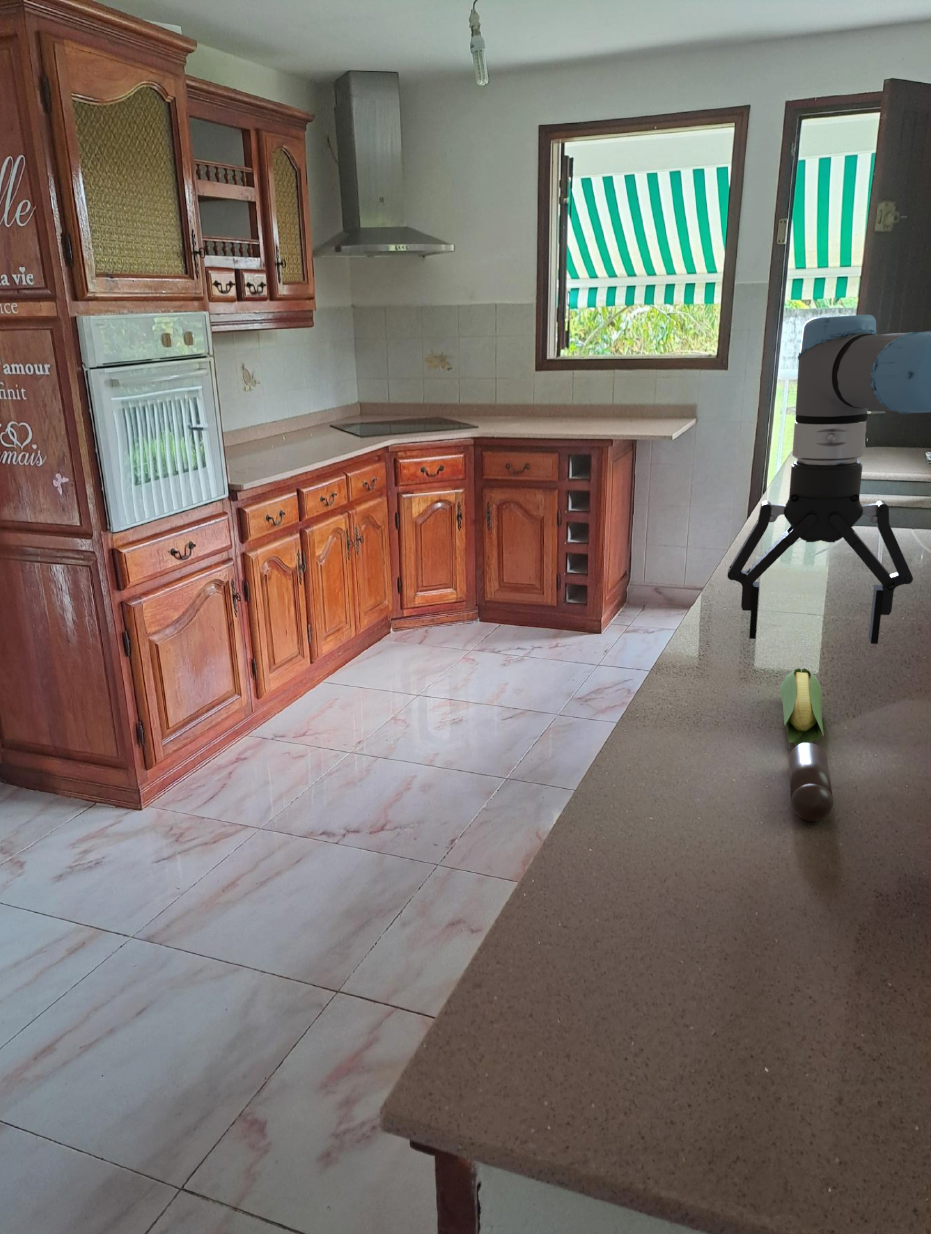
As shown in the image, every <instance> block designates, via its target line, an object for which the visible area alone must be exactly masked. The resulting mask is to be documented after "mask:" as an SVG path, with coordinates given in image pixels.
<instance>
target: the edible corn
mask: <svg viewBox="0 0 931 1234" xmlns="http://www.w3.org/2000/svg"><path fill="white" fill-rule="evenodd" d="M779 689H780V696H781V701H782V711H783V712H782V713H783V723H784V725H783V726H784V729H786V730H787V739H788V740H787V741H788V743H793V745H794V746H795V747H796V746H797V745H799V744H802V743H813V741H817V742H819V739H820V735H822V736H823V737H824V736H825V734H824V733H825V732H824V725H823V689H822V685H821V684H820V682H819V680H818V678H817V677H816V676H815V675H814V674H813V673H812V672H811V671H810V670H809V669H807V668H799V667H798V668H796V669H795V670H793V671H791V672H790V673H789V674H788V675H786V676H785V678H784V679H783V681H782V682H781V683H780V685H779ZM795 747H794V748H795Z"/></svg>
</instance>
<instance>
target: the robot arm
mask: <svg viewBox="0 0 931 1234" xmlns="http://www.w3.org/2000/svg"><path fill="white" fill-rule="evenodd" d="M800 341H801V342H800V351H799V352H798V355H797V360H798V367H797V380H796V381H797V383H796V396H795V397H796V401H795V420H794V425H793V427H794V428H793V441H792V457H794V458H795V459H796V461H794V462H793V464H791V468H790V479H789V481H790V482H789V483H790V484H789V491H788V492H789V493H788V499H787V501H786V503H785V504H781V503H772V502H770V501H769V500H763V501H762V502H761V503H760V508H759V512H758V513H759V514H758V518H757V520H756V522H755V524H754V525H753V527H752V529H751V530H750V532H749V533H748V534H747V535H748V536H747V537H746V538H745V540H744V542H743V544H742V545H741V547H740V549H739V550H738V552H737V553H736V555H735V557H734V559H733V561H732V562H731V564H730V565H729V567H728V570H727V578H728V580H730V581H735V582H737V583H739V584H740V585H741V605H740V607H741V610H742V611H745V612H746V611H747V612H748V611H749V612H750V616H749V617H750V618H749V631H748V632H749V634H748V639H750V640H756V639H757V627H758V611H759V597H760V596H759V595H760V581H757V580H758V579H759V578H760V577H761V576H762V575H763V574H764V573H765V572H766V571H767V570H768V569H769V568H770V567H771V566H772V565H773V564H774V563H775V562H776V561H777V560H778V559H780V557H781V556H782V555H783V554H784V553H785V552H786V551H787V550H788V549H789V548H790V547H792V545H794V544H795V543H796V542H797V541H799V539H801V540H802V541H805V542H806V543H816V542H820V541H821V542H824V543H836V542H838V541H840V540H842V539H843V540H844V541H845V542H846V543H847V545H848V546H849V547H851V549H852V550H853V552H854V553H856V554H857V556H858V557H859V558H860V560H861V561H862V562H863V563H864V565H865V566H866V567H867V568H868V569H869V571H870V572H871V573H872V574H873V575H874V577H875V578H876V579H877V580H878V581H879V583H881V584H876V583H875V584H873V592H872V600H871V601H872V602H871V610H870V619H869V629H868V639H869V642H870V644H871V645H878V644H879V637H880V627H881V618H882V616H890V615H891V613H892V611H893V601H894V592H895V589H896V588H898V587H900V586H902V585H910V584H912V582H913V581H914V576H913V574H912V572H911V570H910V567H909V566H908V563H907V560H906V558H905V555H904V554H903V551H902V550H901V547H900V545H899V543H898V541H897V538H896V536H895V534H894V531H893V529H892V527H891V525H890V508H889V506H888V504H887V503H886V501H884V500H878V501H876V503H868V504H862V503H861V500H860V495H861V486H862V474H863V464H862V463H861V461H860V460H858V459H859V458H861V457H862V456H864V453H865V443H866V431H867V421H868V413H869V412H868V410H869V409H870V410H878V411H879V410H880V411H887V412H888V411H889V412H896V413H898V414H904V415H909V414H923V413H931V331H930V330H926V331H910V332H896V333H881V334H878V332H877V319H876V318H875V316H873V315H872V314H854V315H836V316H835V315H834V316H820V317H812V318H809V320H807V321H806V322H805V323H804V325H803V328H802V334H801V340H800ZM781 515H782V516H784V518H786V521H787V522H788V523H789V525H790V526H788V528H786V529H785V531H784V532H783V533H781V535H780V536H779V538H777V539H776V540H775V542H774V543H773V544H771V546H770V547H769V548H768V549H767V550H766V551H764V553H763V554H762V555H761V556H760V557H759V558H758V559H757V560H756V561H755V562H754V563H753V564H752V565H751V566H749V568H748V569H746V570H744V567H745V566H746V564H747V562H748V561H749V559H750V557H751V556H752V554H753V553H754V550H755V549H756V548H757V546H758V544H759V542H760V541H761V539H762V537H763V536H764V535H765V532H766V530H767V529H768V527H769V524H770V523H774V522H776V521H777V519H778V518H779V517H780V516H781ZM862 516H866V517H868V520H869V522H870V523H872V524H875V525H876V528H877V530H878V532H879V534H880V537H881V539H882V542H883V543H884V545H885V548H886V550H887V552H888V554H889V557H890V560H891V562H892V564H893V566H894V568H895V571H896V572H894V573H890V572H889V571H888V570H887V569H886V567H885V566H884V564H882V563H881V561H880V560H879V558H877V557H876V555H875V554H874V553H873V552H872V550H871V549H870V547H868V545H867V544H865V542H864V541H863V539H862V538H861V537H860V536H859V534H858V533H857V532H856V531H855V530H854V529H853V527H854V526H855V524H856V523H857V522H858V521H859V520H860V519H861V518H862Z"/></svg>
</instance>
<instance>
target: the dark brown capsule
mask: <svg viewBox="0 0 931 1234" xmlns="http://www.w3.org/2000/svg"><path fill="white" fill-rule="evenodd" d="M827 756H828V755H827V754H826V752H825V750H824V749H823V748H822V747H821V746H819V744H816V743H813V742H812V743H802V744H799V745H797V746H796V747H793V748H792V749H791V751H790V753H789V755H788V773H789V790H790V791H789V792H790V803H791V807H792V809H793V812H794V813H795V815H796V816H798V817H799V818H800V819H802V820H804V821H808V822H819V821H822V820H823V819H826V818H827V817H828V816H829V815H830V813H831V812H832V811H833V808H834V798H833V790H832V789H833V788H832V782H831V775H830V770H829V762H828V757H827Z"/></svg>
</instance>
